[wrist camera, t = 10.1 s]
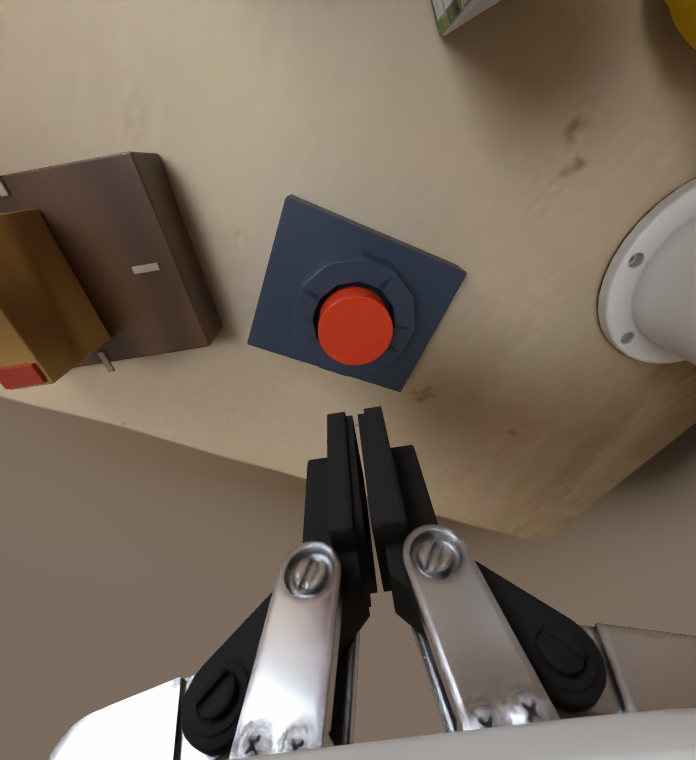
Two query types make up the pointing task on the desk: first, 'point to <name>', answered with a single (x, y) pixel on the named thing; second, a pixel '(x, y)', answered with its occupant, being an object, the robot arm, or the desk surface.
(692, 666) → the robot arm
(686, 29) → the duckling
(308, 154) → the desk surface
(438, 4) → the syrup box
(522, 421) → the desk surface
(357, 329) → the button
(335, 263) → the button box
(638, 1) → the desk surface
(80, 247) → the control panel
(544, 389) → the desk surface
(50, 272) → the rotary knob
